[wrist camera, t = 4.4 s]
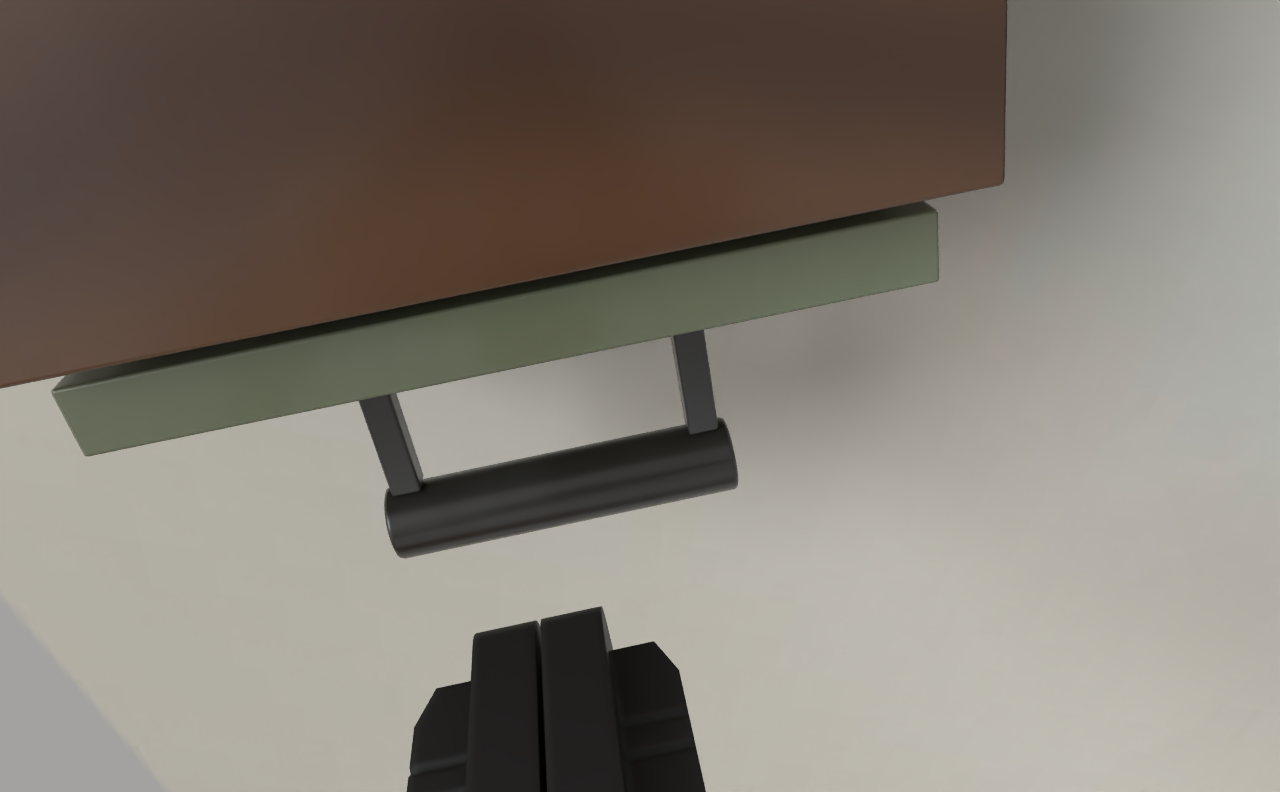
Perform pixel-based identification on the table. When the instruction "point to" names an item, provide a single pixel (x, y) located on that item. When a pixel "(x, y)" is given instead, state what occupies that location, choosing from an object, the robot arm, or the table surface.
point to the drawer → (507, 339)
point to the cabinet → (443, 149)
